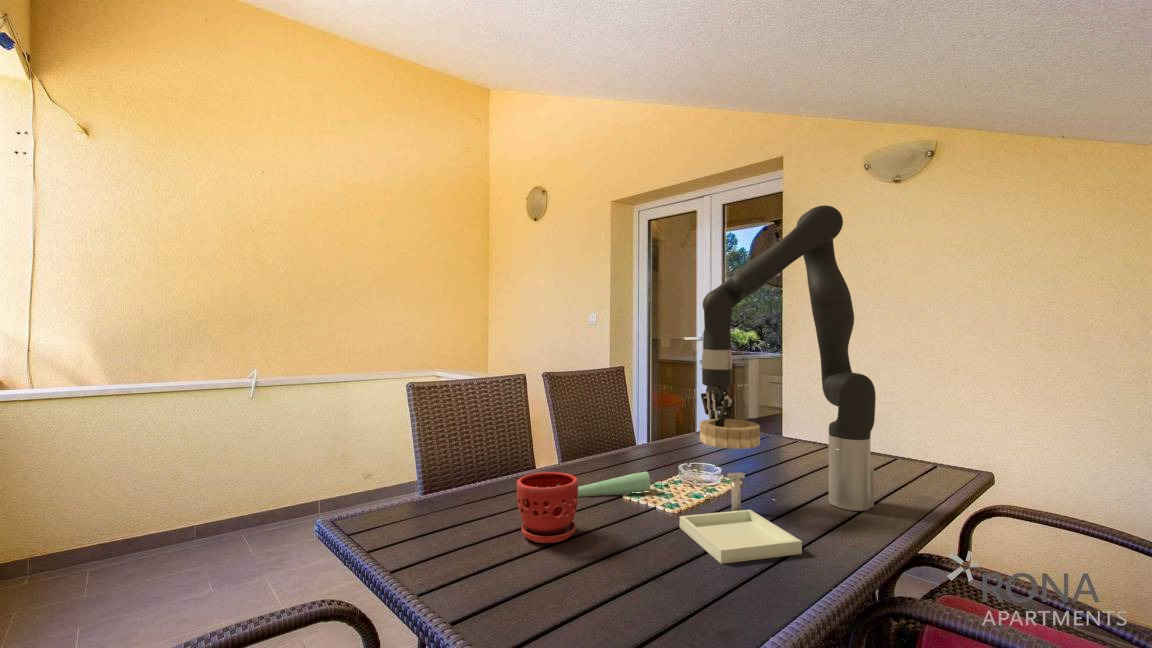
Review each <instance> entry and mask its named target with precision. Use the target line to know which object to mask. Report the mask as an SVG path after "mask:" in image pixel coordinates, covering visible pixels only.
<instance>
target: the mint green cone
mask: <svg viewBox="0 0 1152 648" xmlns="http://www.w3.org/2000/svg"><path fill="white" fill-rule="evenodd" d="M651 484H652V483H651V477H650V474H649V472H648V471H642V472H635V473H630V474H626V475H621V476H619V477H613V478H609V479H606V480H602V481H597V482H594V483H593V482H592V483H590V484H585V485H580V486H578V496H577V498H580V497H598V496H600V495H601V496H615V495H627V494H626V493H632V492H644V491H649V492H650V490H651Z"/></svg>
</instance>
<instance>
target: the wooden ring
mask: <svg viewBox="0 0 1152 648" xmlns="http://www.w3.org/2000/svg"><path fill="white" fill-rule="evenodd" d="M715 420H716V419H710V418H708V419H703V420H701V421H699V441H700V443H702V444H704V445H706V446H711V447H716V448H721V449H729V450H731V449H732V450H744V449H745V450H746V449H754V448H758V447H759V446H760V445H761V425H759V424H758V423H756V422H753V421H748V420H743V419H733V418H729V419H726V420H725V421H724V427H718V426H715Z"/></svg>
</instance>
